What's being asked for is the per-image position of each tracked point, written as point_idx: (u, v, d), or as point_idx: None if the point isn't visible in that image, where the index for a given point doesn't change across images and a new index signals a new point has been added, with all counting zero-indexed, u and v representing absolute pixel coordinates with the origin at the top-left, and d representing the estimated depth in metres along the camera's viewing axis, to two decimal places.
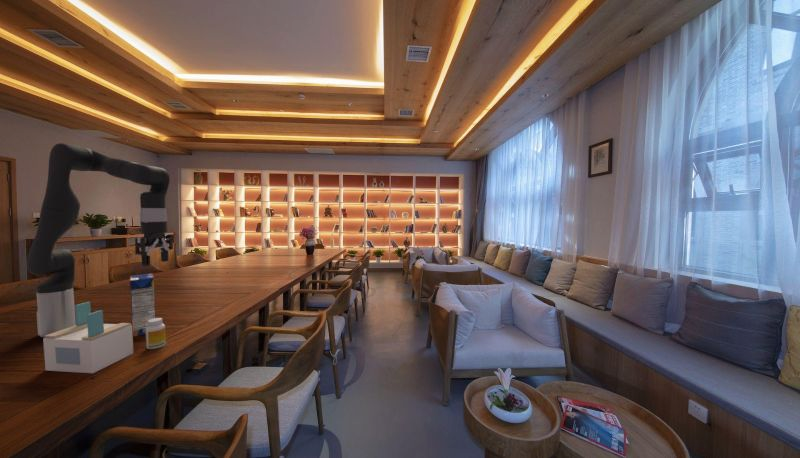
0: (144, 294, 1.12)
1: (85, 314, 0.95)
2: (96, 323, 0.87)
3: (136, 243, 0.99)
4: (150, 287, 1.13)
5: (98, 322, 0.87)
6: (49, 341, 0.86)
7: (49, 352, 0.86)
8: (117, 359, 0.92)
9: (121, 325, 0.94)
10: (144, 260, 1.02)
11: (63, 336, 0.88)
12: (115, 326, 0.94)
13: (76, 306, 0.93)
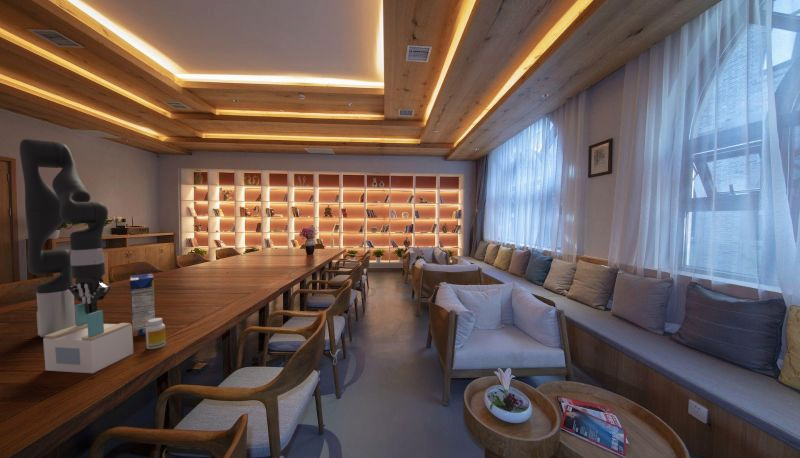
0: (144, 294, 1.12)
1: (85, 314, 0.95)
2: (96, 323, 0.87)
3: (101, 293, 0.93)
4: (150, 287, 1.13)
5: (98, 322, 0.87)
6: (49, 341, 0.86)
7: (49, 352, 0.86)
8: (117, 359, 0.92)
9: (121, 325, 0.94)
10: (95, 307, 0.95)
11: (63, 336, 0.88)
12: (115, 326, 0.94)
13: (76, 306, 0.93)
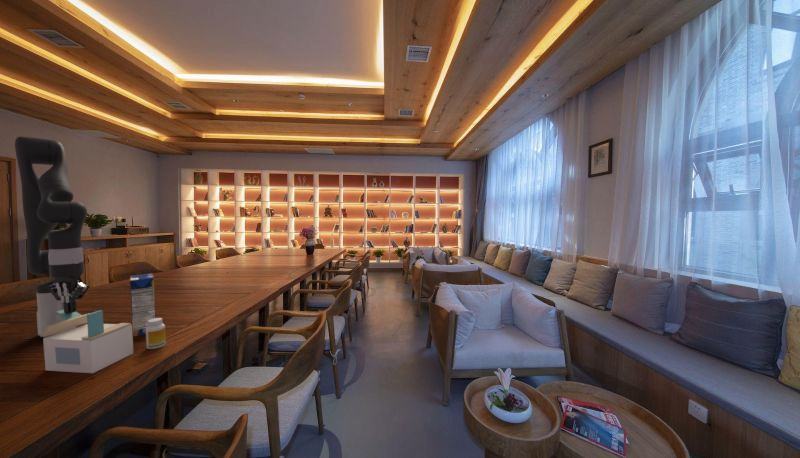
0: (144, 294, 1.12)
1: (73, 314, 0.96)
2: (96, 323, 0.87)
3: (79, 292, 0.94)
4: (150, 287, 1.13)
5: (98, 322, 0.87)
6: (49, 341, 0.86)
7: (49, 352, 0.86)
8: (117, 359, 0.92)
9: (121, 325, 0.94)
10: (74, 306, 0.96)
11: (63, 336, 0.88)
12: (115, 326, 0.94)
13: (56, 312, 0.94)
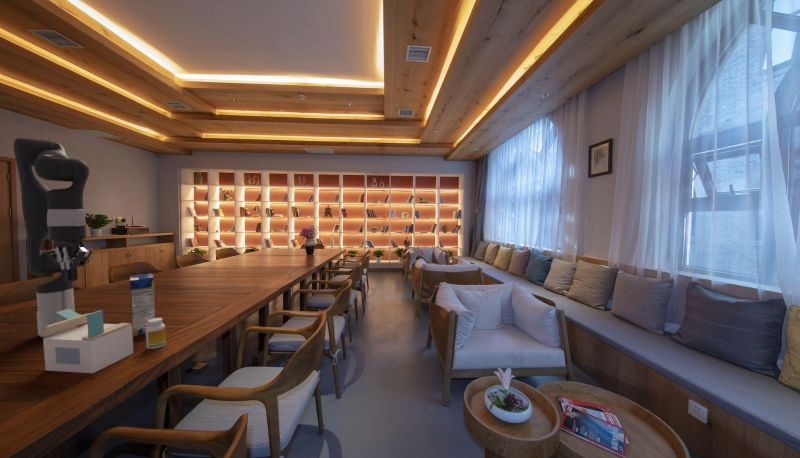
0: (144, 294, 1.12)
1: (73, 315, 0.96)
2: (96, 323, 0.87)
3: (81, 258, 0.85)
4: (150, 287, 1.13)
5: (98, 322, 0.87)
6: (49, 341, 0.86)
7: (49, 352, 0.86)
8: (117, 359, 0.92)
9: (121, 325, 0.94)
10: (75, 274, 0.87)
11: (63, 336, 0.88)
12: (115, 326, 0.94)
13: (56, 313, 0.94)
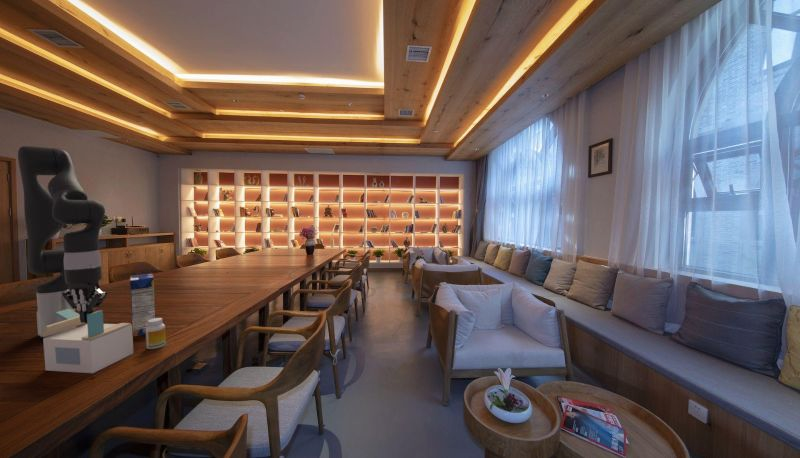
0: (144, 294, 1.12)
1: (73, 315, 0.96)
2: (96, 323, 0.87)
3: (97, 300, 0.85)
4: (150, 287, 1.13)
5: (98, 322, 0.87)
6: (49, 341, 0.86)
7: (49, 352, 0.86)
8: (117, 359, 0.92)
9: (121, 325, 0.94)
10: None
11: (63, 336, 0.88)
12: (115, 326, 0.94)
13: (56, 313, 0.94)
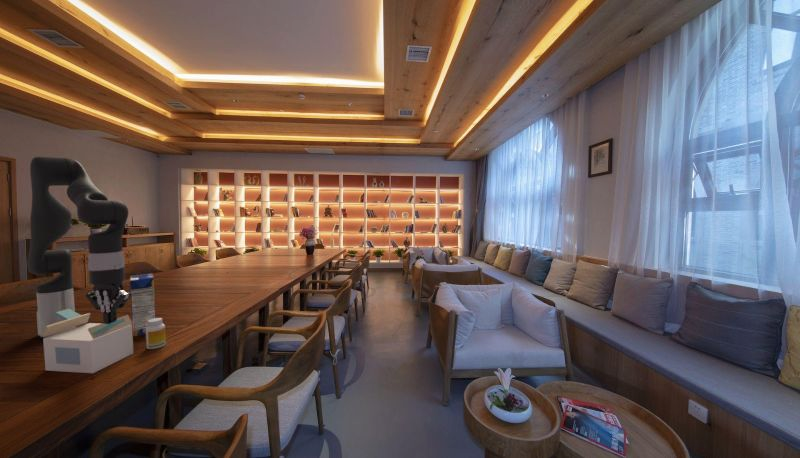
0: (144, 294, 1.12)
1: (73, 315, 0.96)
2: (109, 327, 0.87)
3: (121, 301, 0.85)
4: (150, 287, 1.13)
5: (112, 326, 0.87)
6: (49, 341, 0.86)
7: (49, 352, 0.86)
8: (117, 359, 0.92)
9: (125, 323, 0.94)
10: (115, 316, 0.87)
11: (63, 336, 0.88)
12: None
13: (56, 313, 0.94)
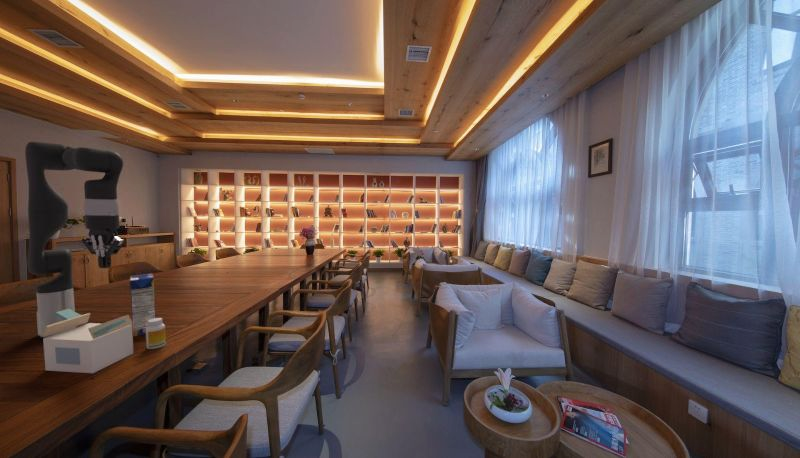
0: (144, 294, 1.12)
1: (73, 315, 0.96)
2: (110, 328, 0.87)
3: (115, 246, 0.89)
4: (150, 287, 1.13)
5: (112, 327, 0.87)
6: (49, 341, 0.86)
7: (49, 352, 0.86)
8: (117, 359, 0.92)
9: (125, 323, 0.94)
10: (109, 261, 0.91)
11: (63, 336, 0.88)
12: None
13: (56, 313, 0.94)
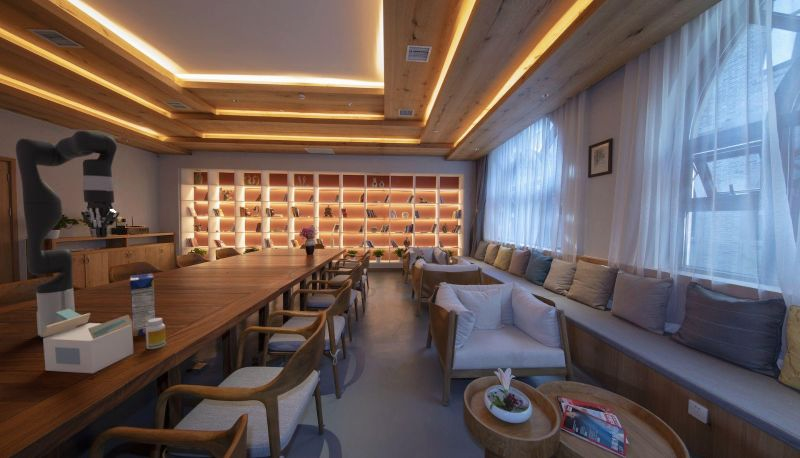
0: (144, 294, 1.12)
1: (73, 315, 0.96)
2: (110, 328, 0.87)
3: (111, 217, 1.02)
4: (150, 287, 1.13)
5: (112, 327, 0.87)
6: (49, 341, 0.86)
7: (49, 352, 0.86)
8: (117, 359, 0.92)
9: (125, 323, 0.94)
10: (105, 231, 1.03)
11: (63, 336, 0.88)
12: None
13: (56, 313, 0.94)
